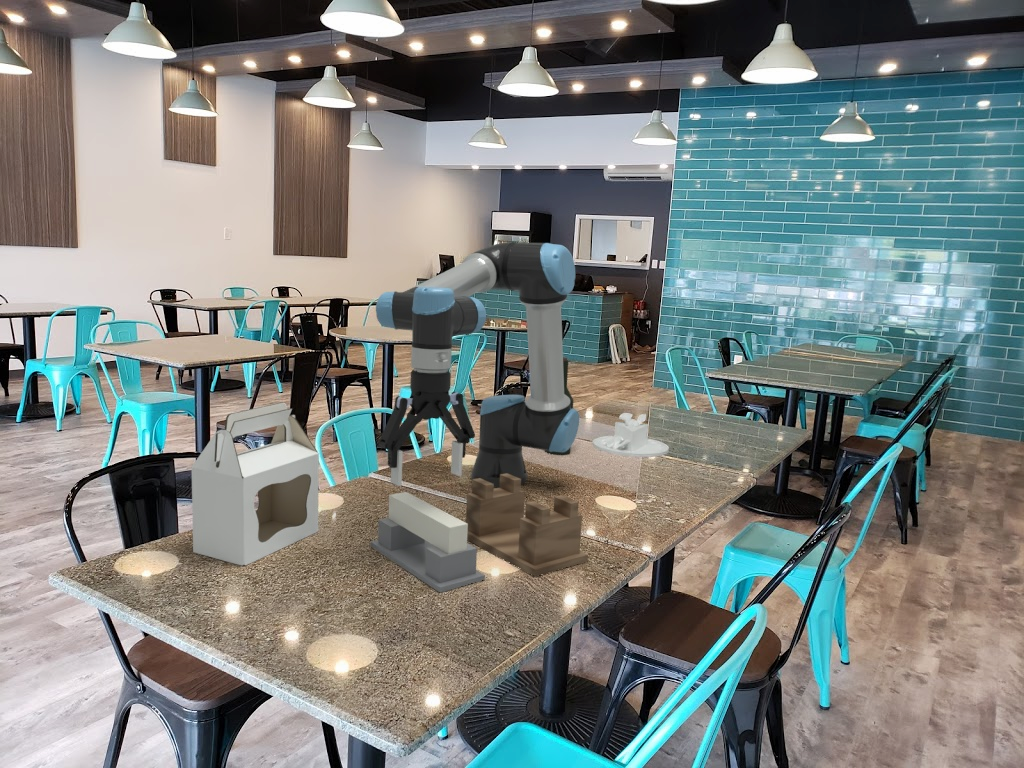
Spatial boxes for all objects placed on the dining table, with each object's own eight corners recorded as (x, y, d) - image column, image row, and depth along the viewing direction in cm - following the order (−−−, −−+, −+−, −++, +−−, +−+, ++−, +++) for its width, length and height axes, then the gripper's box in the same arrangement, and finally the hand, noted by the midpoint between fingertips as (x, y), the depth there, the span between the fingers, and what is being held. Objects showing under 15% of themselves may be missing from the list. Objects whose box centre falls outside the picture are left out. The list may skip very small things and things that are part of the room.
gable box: (243, 567, 143) (241, 422, 139) (191, 553, 149) (188, 412, 144) (319, 531, 163) (320, 403, 159) (271, 520, 169) (271, 395, 164)
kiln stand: (370, 546, 156) (370, 518, 155) (412, 536, 163) (412, 509, 162) (439, 592, 137) (441, 561, 136) (484, 580, 143) (486, 549, 142)
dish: (593, 436, 265) (595, 404, 263) (666, 442, 262) (669, 410, 260) (591, 454, 241) (593, 419, 239) (671, 460, 238) (674, 425, 236)
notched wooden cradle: (457, 534, 165) (459, 479, 163) (508, 523, 174) (510, 470, 172) (535, 577, 145) (538, 514, 143) (587, 561, 154) (591, 502, 152)
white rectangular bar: (388, 518, 156) (389, 494, 155) (405, 515, 158) (406, 491, 157) (448, 553, 139) (449, 527, 138) (466, 549, 141) (467, 523, 141)
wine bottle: (563, 456, 235) (569, 360, 230) (539, 452, 239) (545, 357, 234) (575, 451, 242) (581, 358, 237) (552, 447, 246) (558, 355, 241)
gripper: (382, 376, 133) (379, 493, 136) (495, 369, 148) (490, 475, 152) (361, 370, 138) (359, 482, 142) (473, 364, 154) (468, 466, 157)
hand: (427, 479), depth 147 cm, fingers open, 13 cm apart
